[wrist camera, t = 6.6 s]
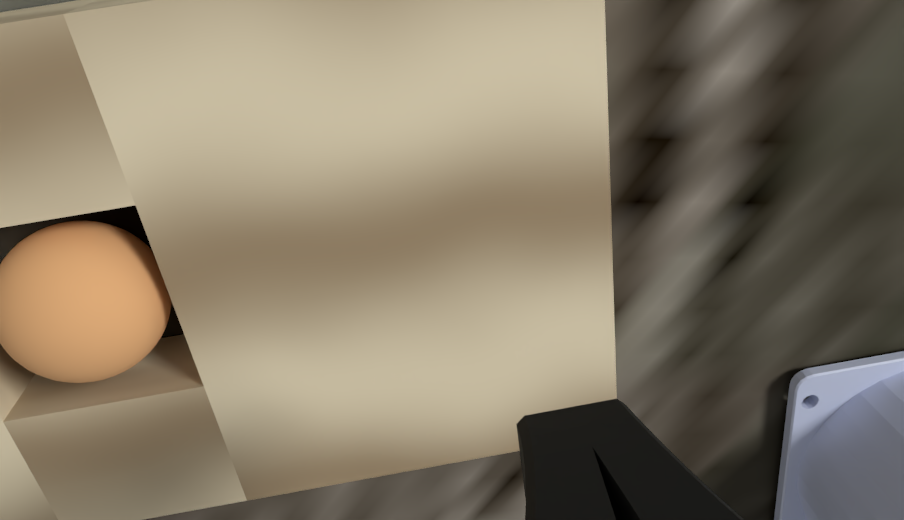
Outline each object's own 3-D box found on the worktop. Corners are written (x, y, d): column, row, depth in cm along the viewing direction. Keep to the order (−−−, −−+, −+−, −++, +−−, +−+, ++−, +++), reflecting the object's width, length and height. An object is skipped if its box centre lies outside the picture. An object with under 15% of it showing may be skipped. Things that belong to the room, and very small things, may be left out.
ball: (137, 307, 19) (224, 337, 17) (6, 391, 16) (89, 437, 14) (81, 185, 17) (170, 202, 15) (-76, 258, 15) (6, 291, 13)
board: (590, 374, 21) (617, 432, 18) (-105, 499, 20) (-163, 575, 18) (567, -76, 15) (602, -71, 13) (-405, 75, 14) (-545, 109, 12)
